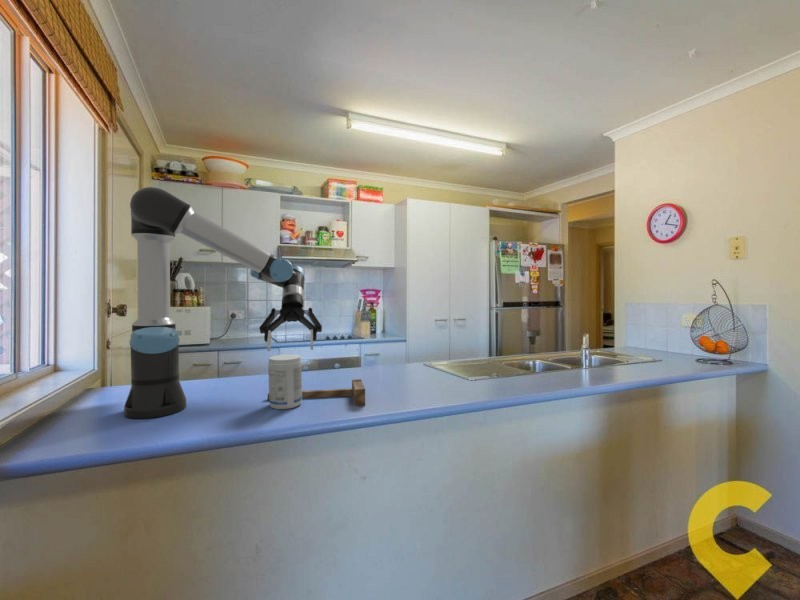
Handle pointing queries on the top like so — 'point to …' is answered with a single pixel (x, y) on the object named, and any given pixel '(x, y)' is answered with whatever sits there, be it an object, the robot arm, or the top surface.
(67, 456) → the top surface
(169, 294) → the robot arm
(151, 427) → the top surface
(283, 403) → the supplement tub
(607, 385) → the top surface
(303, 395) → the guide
